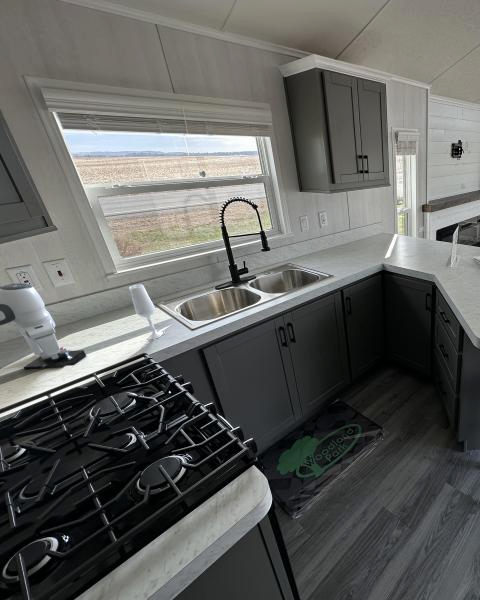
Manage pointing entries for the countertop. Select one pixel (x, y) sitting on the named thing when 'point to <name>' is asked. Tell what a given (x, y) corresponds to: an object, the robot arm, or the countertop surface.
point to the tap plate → (57, 361)
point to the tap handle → (62, 353)
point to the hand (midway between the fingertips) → (54, 356)
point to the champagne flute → (143, 306)
